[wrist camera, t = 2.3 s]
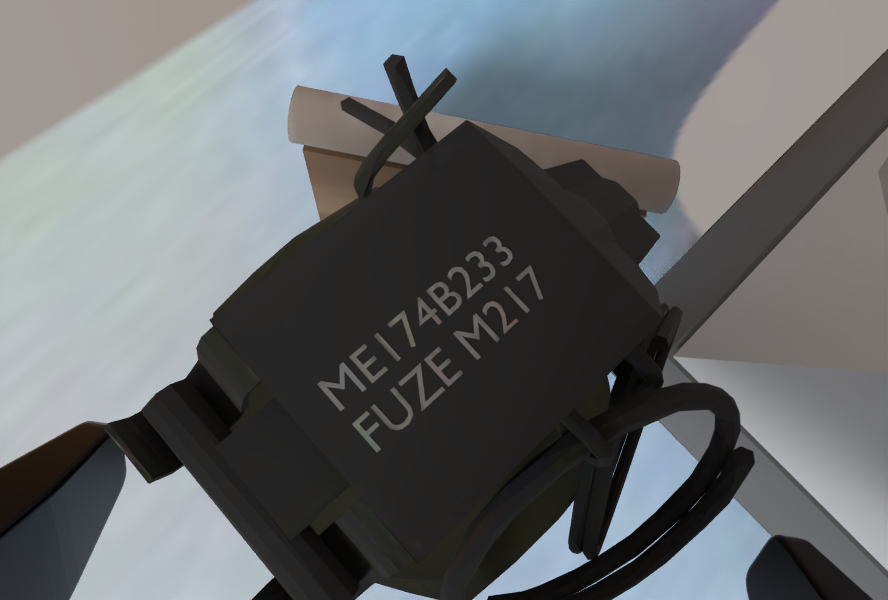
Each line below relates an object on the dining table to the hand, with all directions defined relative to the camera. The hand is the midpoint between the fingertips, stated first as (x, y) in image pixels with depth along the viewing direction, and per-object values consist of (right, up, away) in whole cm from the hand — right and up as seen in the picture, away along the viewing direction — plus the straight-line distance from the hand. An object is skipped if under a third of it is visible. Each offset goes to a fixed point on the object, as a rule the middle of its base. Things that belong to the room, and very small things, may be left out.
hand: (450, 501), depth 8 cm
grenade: (-1, -1, +10) cm, 10 cm away
